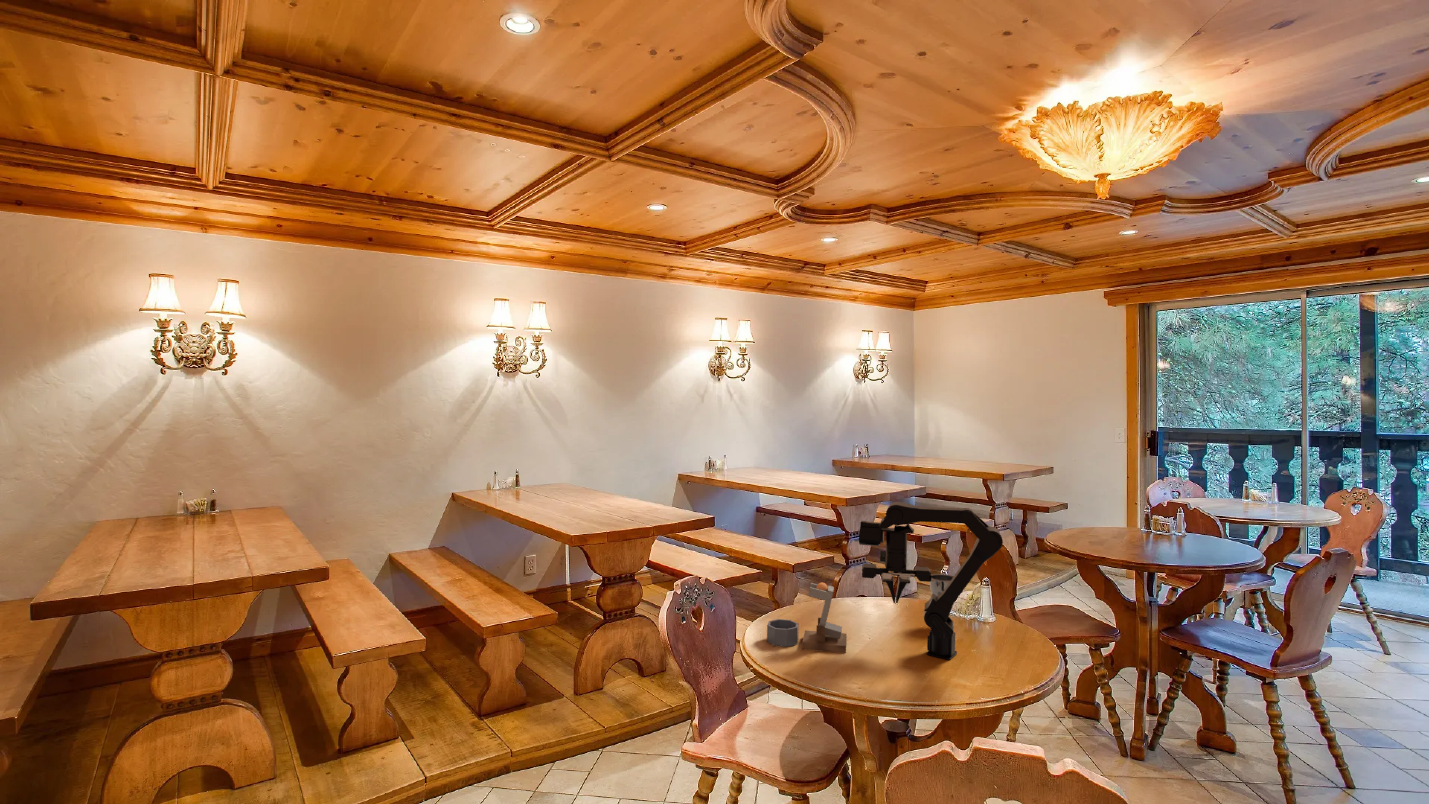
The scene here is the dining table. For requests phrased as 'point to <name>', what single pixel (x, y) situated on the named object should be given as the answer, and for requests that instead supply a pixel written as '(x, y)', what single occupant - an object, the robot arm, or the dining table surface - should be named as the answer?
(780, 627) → the cup
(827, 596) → the lever
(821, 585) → the ball
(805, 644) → the base
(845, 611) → the dining table surface
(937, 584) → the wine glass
